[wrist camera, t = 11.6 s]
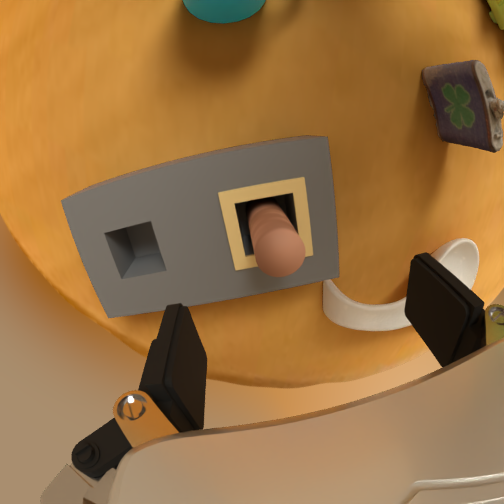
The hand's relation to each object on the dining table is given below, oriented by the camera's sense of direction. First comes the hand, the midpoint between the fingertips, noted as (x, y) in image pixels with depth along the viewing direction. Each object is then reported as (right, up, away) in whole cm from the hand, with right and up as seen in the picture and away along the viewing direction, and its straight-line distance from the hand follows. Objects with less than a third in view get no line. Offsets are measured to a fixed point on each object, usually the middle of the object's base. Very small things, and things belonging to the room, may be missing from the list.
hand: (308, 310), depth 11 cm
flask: (+19, +19, +13) cm, 30 cm away
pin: (-1, +6, +15) cm, 16 cm away
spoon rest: (+18, -1, +22) cm, 28 cm away
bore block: (-7, +6, +16) cm, 19 cm away
